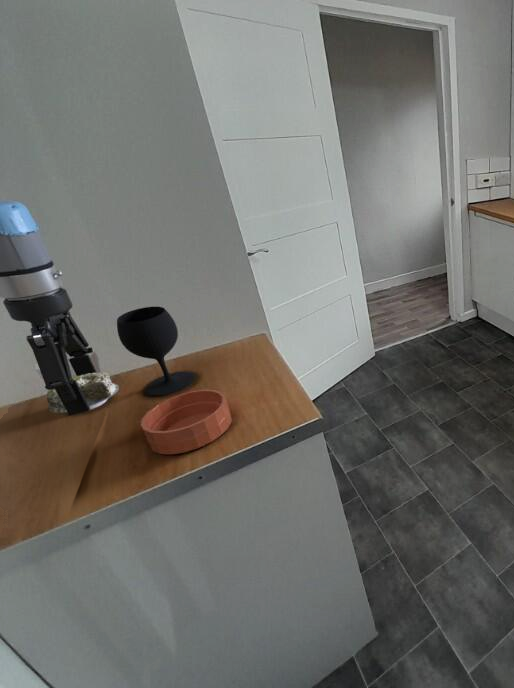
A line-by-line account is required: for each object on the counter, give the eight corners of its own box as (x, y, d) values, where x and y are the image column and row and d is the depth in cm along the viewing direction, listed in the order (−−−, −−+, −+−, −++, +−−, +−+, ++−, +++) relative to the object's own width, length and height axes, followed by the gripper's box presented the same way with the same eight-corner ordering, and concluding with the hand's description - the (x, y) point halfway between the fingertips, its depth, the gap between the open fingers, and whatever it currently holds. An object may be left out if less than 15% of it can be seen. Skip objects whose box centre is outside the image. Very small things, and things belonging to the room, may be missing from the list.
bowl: (147, 466, 79) (136, 442, 77) (154, 425, 90) (145, 403, 87) (233, 438, 87) (226, 415, 84) (230, 403, 97) (223, 382, 95)
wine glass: (193, 368, 110) (168, 301, 102) (197, 386, 103) (170, 316, 94) (144, 382, 104) (112, 312, 96) (144, 403, 97) (110, 329, 88)
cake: (40, 408, 78) (25, 385, 76) (105, 381, 86) (93, 359, 84) (64, 420, 74) (49, 395, 72) (130, 390, 82) (118, 367, 80)
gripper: (45, 311, 65) (100, 422, 74) (78, 271, 81) (120, 365, 90) (-26, 322, 61) (41, 438, 70) (24, 277, 78) (73, 376, 87)
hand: (86, 397), depth 80 cm, fingers closed on cake, 10 cm apart
